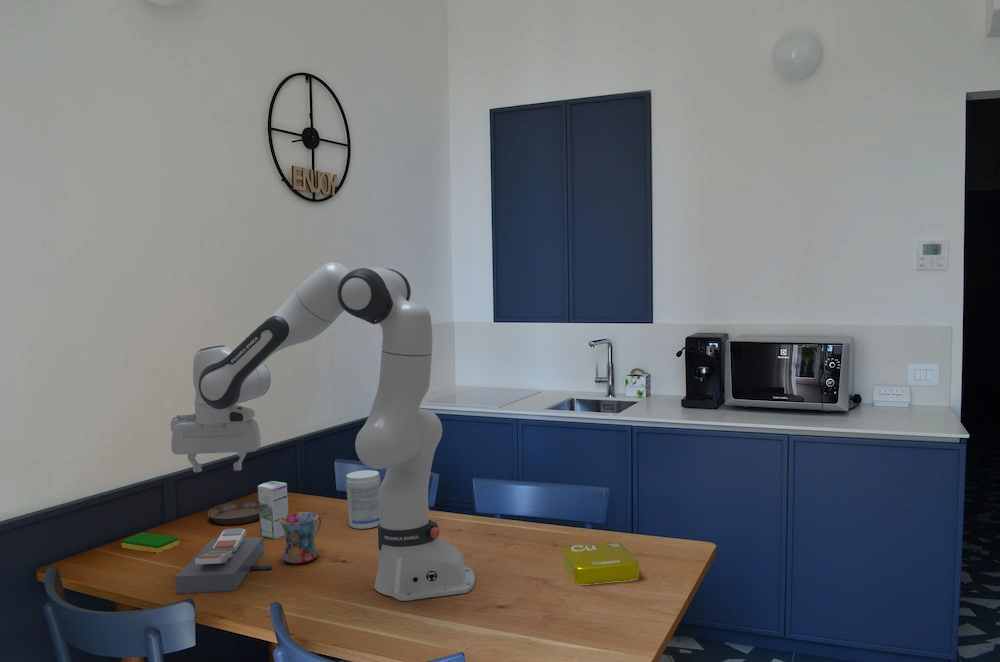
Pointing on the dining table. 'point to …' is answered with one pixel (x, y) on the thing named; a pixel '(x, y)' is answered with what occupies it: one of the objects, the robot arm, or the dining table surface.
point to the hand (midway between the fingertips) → (217, 470)
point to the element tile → (600, 563)
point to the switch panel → (221, 569)
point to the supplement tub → (363, 498)
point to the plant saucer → (236, 512)
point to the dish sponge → (150, 542)
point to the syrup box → (272, 508)
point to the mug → (300, 536)
